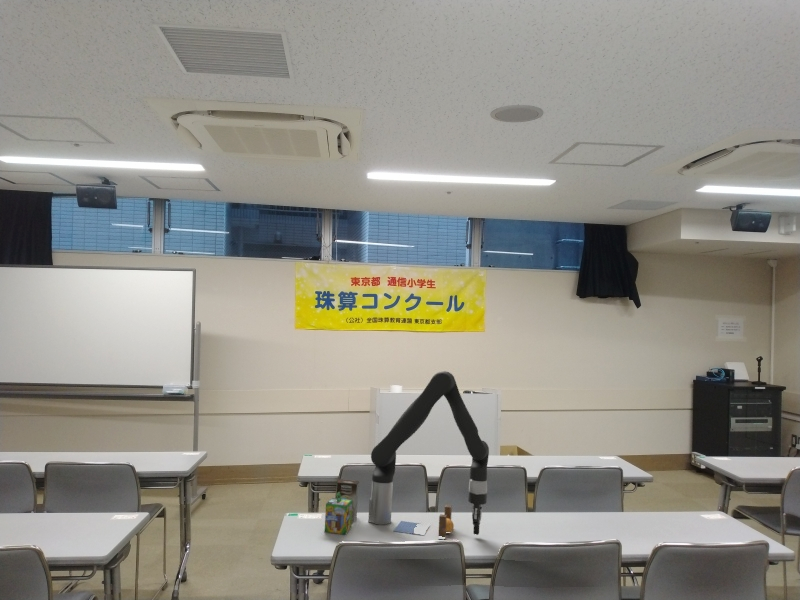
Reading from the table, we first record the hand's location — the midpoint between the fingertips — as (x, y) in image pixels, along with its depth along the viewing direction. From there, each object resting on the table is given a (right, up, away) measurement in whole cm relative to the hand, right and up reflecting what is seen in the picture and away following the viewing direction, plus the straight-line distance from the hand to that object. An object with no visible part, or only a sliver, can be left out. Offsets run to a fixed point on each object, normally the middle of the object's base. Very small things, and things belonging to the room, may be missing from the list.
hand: (476, 533), depth 209 cm
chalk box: (-57, +1, 0) cm, 57 cm away
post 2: (-11, -2, +9) cm, 15 cm away
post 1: (-14, -1, -3) cm, 15 cm away
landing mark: (-26, -1, +7) cm, 27 cm away
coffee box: (-55, 0, +14) cm, 57 cm away
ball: (-12, +2, +3) cm, 12 cm away
